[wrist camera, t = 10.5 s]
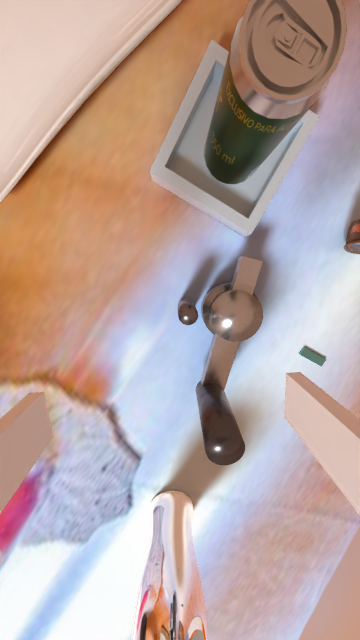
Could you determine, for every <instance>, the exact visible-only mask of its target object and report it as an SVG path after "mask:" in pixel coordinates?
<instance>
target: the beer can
mask: <svg viewBox="0 0 360 640" xmlns="http://www.w3.org/2000/svg"><path fill="white" fill-rule="evenodd" d="M346 31H347V28H346V17H345V8H344V6H343V3H342V1H341V0H250V1H249V2H248V5H247V8H246V11H245V12H244V14H243V15H242V17H241V18H240V20H239V21H238V23H237V27H236V30H235V33H234V36H233V39H232V42H231V46H230V49H229V53H228V57H227V61H226V65H225V69H224V73H223V77H222V81H221V85H220V88H219V92H218V96H217V100H216V104H215V108H214V112H213V116H212V120H211V123H210V127H209V131H208V135H207V139H206V143H205V150H204V158H205V162H206V166H207V168H208V170H209V172H210V173H211V175H212V176H213V177H215V178H216V179H217V180H218V181H220V182H222V183H225V184H238V183H241V182H244V181H245V180H246V179H248V178H249V177H251V176H252V174H253V173H254V172H255V171H256V170H257V169H258V168H259V166H260V165H261V164H262V163H263V162H264V161H265V160H266V158H267V157H268V156H269V155H270V154H271V153H272V151H273V150H274V149H275V148H276V147H277V146H278V145H279V143H280V142H281V141H282V140H283V139H284V138H285V136H286V135H287V134H288V133H289V132H290V131H291V130H292V128H293V127H294V126H295V125H296V124H297V123H298V122H299V120H300V119H301V118H302V117H303V116H304V115H305V113H306V112H307V111H308V110H309V109H310V108H311V107H312V105H313V104H314V103H315V102H316V100H317V99H318V98H319V96H320V95H321V94H322V93H323V91H324V90H325V89H326V86H327V84H328V82H329V79H330V77H331V75H332V73H333V72H334V71H335V69H336V67H337V65H338V62H339V60H340V57H341V55H342V53H343V50H344V43H345V37H346Z"/></svg>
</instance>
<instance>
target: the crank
mask: <svg viewBox="0 0 360 640" xmlns="http://www.w3.org/2000/svg"><path fill="white" fill-rule="evenodd" d="M262 263H263V261H260V260H256V259H252V258H249V257H245V256H239V259H238V263H237V266H236V269H235V273H234V276H233V280H232V283H231V286H230V289H229V290H225V291H223V292H221V293H220V294H218V295H217V296H216V297H215V298H214V299H213V301H212V302H211V304H210V307H209V313H208V315H209V321H210V323H211V325H212V327H213V329H214V330H215V334H214V338H213V341H212V344H211V348H210V351H209V355H208V358H207V362H206V365H205V368H204V372H203V375H202V379H201V381H200V382H199V383H198V384H197V386H196V395H197V401H198V407H199V413H200V420H201V426H202V432H203V438H204V445H205V451H206V455H207V457H208V458H209V459H210V460H211V461H212V462H214V463H216V464H219V465H230V464H233V463H235V462H237V461H238V460H239V459H240V458H241V457H242V456H243V454H244V451H245V444H244V441H243V438H242V436H241V433H240V431H239V428H238V426H237V423H236V420H235V418H234V415H233V413H232V410H231V407H230V405H229V402H228V400H227V397H226V395H225V392H224V389H225V386H226V382H227V379H228V376H229V373H230V370H231V367H232V364H233V361H234V357H235V354H236V351H237V348H238V345H239V342H240V341H243V340H246V339H248V338H250V337H251V336H253V335H254V334H255V333H256V332H257V330H258V329H259V327H260V326H261V323H262V319H263V310H262V307H261V304H260V302H259V301H258V300H257V298H256V297H254V296H253V295H252V294H253V291H254V288H255V285H256V282H257V279H258V276H259V272H260V269H261V266H262Z"/></svg>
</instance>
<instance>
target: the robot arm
mask: <svg viewBox="0 0 360 640" xmlns="http://www.w3.org/2000/svg"><path fill="white" fill-rule="evenodd" d="M284 418H285V419H286V420H287V421H288V423H289V424H290V425H291V427H292V428H293V429H294V431H295V432H296V433H297V434H298V436H299V437H300V438H301V440H302V441H303V442H304V443H305V445H306V446H307V447H308V449H309V450H310V451H311V453H312V454H313V455H314V456H315V458H316V459H317V460H318V462H319V463H320V464H321V465H322V467H323V468H324V469H325V471H326V472H327V473H328V475H329V476H330V477H331V478H332V480H333V481H334V482H335V484H336V485H337V486H338V487H339V489H340V490H341V491H342V493H343V494H344V495H345V497H346V498H347V499H348V500H349V502H350V503H351V504H352V506H353V507H354V508H355V509H356V511H357V512H358V513H359V515H360V419H358V418H357V417H356V416H355V415H353V414H352V413H351V412H349V411H348V410H347V409H346V408H344V407H343V406H342V405H341V404H339V403H338V402H337V401H336V400H334V399H333V398H332V397H331V396H329V395H328V394H327V393H326V392H324V391H323V390H322V389H321V388H319V387H318V386H317V385H316V384H314V383H313V382H312V381H310V380H309V379H308V378H307V377H305V376H304V375H303V374H302V373H300V372H296V373H286V391H285V413H284ZM52 438H53V433H52V429H51V424H50V419H49V414H48V410H47V405H46V400H45V395H44V392H38V393H29V394H28V395H27V396H25V397H24V398H23V399H22V400H21V401H20V402H19V403H18V404H16V405H15V406H14V407H13V408H12V409H11V410H10V411H9V412H8V413H6V414H5V415H4V416H3V417H2V418H1V419H0V514H1V512H2V511H3V509H4V508H5V506H6V505H7V503H8V502H9V500H10V499H11V497H12V496H13V495H14V493H15V492H16V490H17V489H18V487H19V486H20V484H21V483H22V481H23V480H24V479H25V477H26V476H27V474H28V473H29V471H30V470H31V468H32V467H33V465H34V464H35V463H36V461H37V460H38V458H39V457H40V455H41V454H42V452H43V451H44V449H45V448H46V447H47V445H48V444H49V442H50V441H51V439H52Z"/></svg>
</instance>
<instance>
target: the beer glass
mask: <svg viewBox="0 0 360 640" xmlns="http://www.w3.org/2000/svg"><path fill="white" fill-rule="evenodd" d="M150 516H151V536H150V543H149V547H148V551H147V556H146V560H145V564H144V568H143V572H142V576H141V580H140V585H139V590H138V595H137V600H136V606H135V613H134V620H133V630H132V640H208V636H207V621H206V611H205V602H204V595H203V589H202V584H201V578H200V574H199V569H198V564H197V559H196V555H195V550H194V545H193V538H192V519H193V503H192V501H191V499H190V498H189V497H188V496H187V495H186V494H184V493H182V492H179V491H165V492H162V493H160V494H158V495H157V496H156V497H155V498H154V499H153V501H152V503H151V506H150Z"/></svg>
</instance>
